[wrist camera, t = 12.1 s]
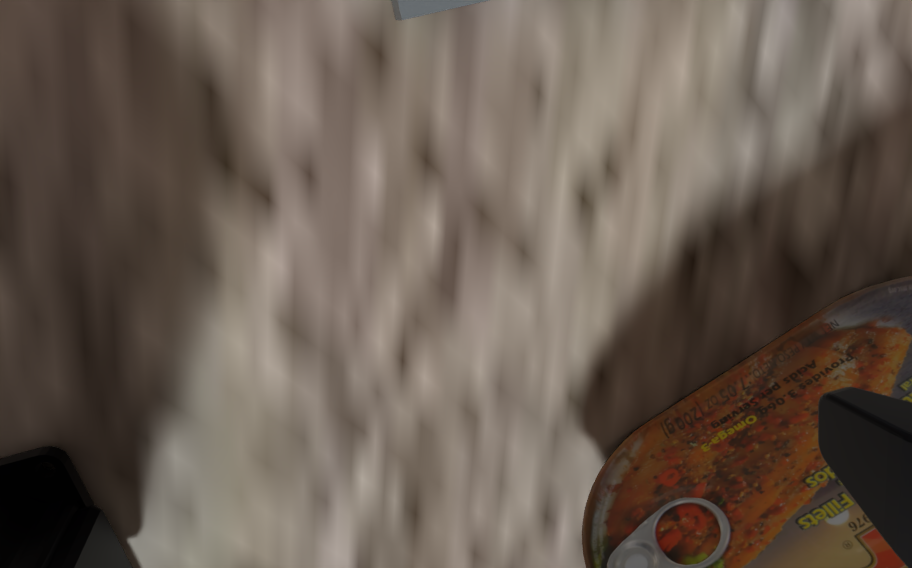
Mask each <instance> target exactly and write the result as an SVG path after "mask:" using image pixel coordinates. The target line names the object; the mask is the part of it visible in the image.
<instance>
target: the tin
mask: <svg viewBox="0 0 912 568" xmlns="http://www.w3.org/2000/svg"><path fill="white" fill-rule="evenodd" d="M844 387H856V388H859V389H863V390H867V391H871V392H875V393H878V394H882V395H886V396H890V397H894V398H898V399H901V400H905V401H909V402H912V276H908V277H903V278H899V279H894V280H891V281H887V282H883V283H880V284H876V285H873V286H869V287H867V288H864V289H861V290H859V291H856V292H854V293H851V294H849V295H847V296H845V297H843V298H840V299H839V300H837V301H835V302H833V303H832V304H830V305H829V306H827V307H825V308H824V309H822V310H820V311H819V312H817V313H816V314H814V315H813V316H811V317H810V318H808V319H807V320H805V321H804V322H802V323H800V324H799V325H797V326H796V327H794V328H793V329H791V330H790V331H788V332H787V333H785V334H784V335H782V336H780V337H779V338H777V339H776V340H774V341H773V342H771V343H770V344H768V345H766V346H765V347H764V348H762V349H761V350H759V351H758V352H756V353H754V354H753V355H751V356H750V357H748V358H747V359H745V360H743V361H742V362H741V363H739V364H737V365H736V366H734V367H733V368H731V369H730V370H728V371H727V372H725V373H723V374H722V375H720V376H719V377H717V378H716V379H714V380H713V381H711V382H709V383H708V384H706V385H704V386H703V387H701V388H700V389H698V390H697V391H695V392H693V393H692V394H690V395H689V396H687V397H686V398H684V399H683V400H681V401H679V402H678V403H676V404H675V405H673V406H672V407H670V408H668V409H667V410H665V411H664V412H662V413H661V414H659V415H658V416H656V417H654V418H653V419H651V420H650V421H648V422H647V423H645V424H644V425H642V426H641V427H640V428H639V429H637V430H636V431H634V432H633V433H632V434H631V435H630V436H629V437H628V438H626V439H625V440H624V441H623V442H622V444H621V445H620V446H619V447H618V448H617V449H616V450H615V451H614V453H613V454H612V455H611V456H610V457H609V459H608V460H607V461H606V463H605V464H604V466H603V467H602V469H601V470H600V472H599V474H598V476H597V478H596V480H595V482H594V484H593V486H592V488H591V491H590V494H589V496H588V500H587V503H586V507H585V511H584V518H583V525H582V545H583V555H584V560H585V565H586V568H908V567H907V566H906V565H905V564H904V563H903V561H902V560H901V559H900V558H899V557H898V556H897V555H896V553H895V552H894V551H893V550H892V548H891V547H890V546H889V545H888V543H887V542H886V541H885V540H884V538H883V537H882V536H881V535H880V533H879V532H878V531H877V529H876V528H875V527H874V525H873V524H872V523H871V521H870V520H869V519H868V517H867V516H866V515H865V513H864V512H863V511H862V509H861V508H860V507H859V505H858V504H857V503H856V501H855V500H854V499H853V497H852V496H851V495H850V493H849V492H848V491H847V489H846V488H845V487H844V486H843V484H842V483H841V482H840V480H839V479H838V478H837V476H836V475H835V474H834V472H833V471H832V470H831V468H830V467H829V466H828V464H827V463H826V462H825V460H824V458H823V456H822V455H821V452H820V449H819V445H818V402H819V399H820V397H821V396H822V395H823V394H825V393H827V392H830V391H834V390H837V389H841V388H844Z"/></svg>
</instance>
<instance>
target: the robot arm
mask: <svg viewBox="0 0 912 568" xmlns="http://www.w3.org/2000/svg"><path fill="white" fill-rule="evenodd" d="M818 445H819V449H820V452H821V455H822V456H823V458H824V460H825V462H826V463H827V464H828V466H829V467H830V468H831V470H832V471H833V472H834V474H835V475H836V476H837V478H838V479H839V480H840V482H841V483H842V484H843V486H844V487H845V488H846V489H847V491H848V492H849V493H850V495H851V496H852V497H853V499H854V500H855V501H856V503H857V504H858V505H859V507H860V508H861V509H862V511H863V512H864V513H865V515H866V516H867V517H868V519H869V520H870V521H871V523H872V524H873V525H874V527H875V528H876V529H877V531H878V532H879V533H880V535H881V536H882V537H883V538H884V540H885V541H886V542H887V543H888V545H889V546H890V547H891V548H892V550H893V551H894V552H895V553H896V555H897V556H898V557H899V558H900V559H901V560H902V561H903V563H904V564H905V565H906V566H907V567H908V568H912V402H909V401H905V400H901V399H898V398H894V397H890V396H886V395H882V394H878V393H875V392H871V391H867V390H863V389H859V388H856V387H844V388H841V389H837V390H834V391H830V392H827V393H825V394H823V395H822V396H821V397H820V399H819V402H818ZM42 462H48V463H51V464H52V465H53V466H54V467H55V469H48V468H45V467H44V466H43V465H42ZM0 568H132V566H131V564H130V562H129V560H128V558H127V556H126V554H125V552H124V551H123V549H122V547H121V545H120V543H119V541H118V539H117V537H116V535H115V533H114V531H113V529H112V527H111V525H110V524H109V522H108V520H107V518H106V516H105V514H104V512H103V510H101V509H100V508H99V507H97V506H96V505H94V503H93V501H92V499H91V498H90V496H89V494H88V492H87V490H86V488H85V486H84V484H83V482H82V480H81V478H80V477H79V475H78V473H77V471H76V469H75V467H74V465H73V463H72V461H71V459H70V457H69V456H68V455H67V453H66V452H65V451H63V450H61V449H60V448H57V447H52V446H49V447H42V448H38V449H34V450H31V451H27V452H23V453H20V454H16V455H12V456H8V457H5V458H1V459H0Z"/></svg>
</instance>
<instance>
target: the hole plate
mask: <svg viewBox="0 0 912 568" xmlns="http://www.w3.org/2000/svg"><path fill="white" fill-rule="evenodd" d="M391 1H392V6H393V10H394V14H395V19H396V20H404V19H409V18H413V17H418V16H422V15H426V14H431V13H435V12H440V11H444V10H448V9H453V8H457V7H461V6H466V5H470V4H475V3H479V2H483V1H488V0H391Z"/></svg>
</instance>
